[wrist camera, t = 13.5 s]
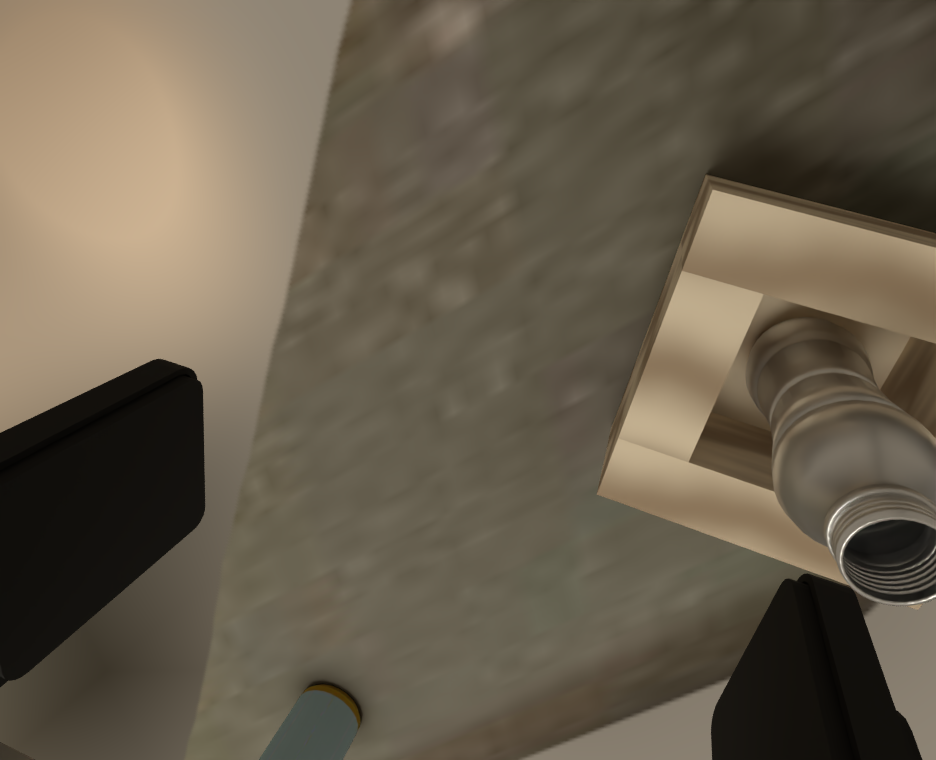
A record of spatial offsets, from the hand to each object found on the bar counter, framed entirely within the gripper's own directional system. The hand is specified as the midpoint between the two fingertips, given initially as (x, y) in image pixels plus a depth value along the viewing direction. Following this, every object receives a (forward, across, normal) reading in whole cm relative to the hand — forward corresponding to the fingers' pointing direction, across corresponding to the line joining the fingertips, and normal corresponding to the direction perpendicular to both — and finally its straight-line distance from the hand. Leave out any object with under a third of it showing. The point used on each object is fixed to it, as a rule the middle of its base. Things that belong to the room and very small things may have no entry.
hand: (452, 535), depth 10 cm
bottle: (+33, +16, +56) cm, 67 cm away
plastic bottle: (+33, -12, +6) cm, 36 cm away
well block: (+34, -12, +6) cm, 37 cm away
